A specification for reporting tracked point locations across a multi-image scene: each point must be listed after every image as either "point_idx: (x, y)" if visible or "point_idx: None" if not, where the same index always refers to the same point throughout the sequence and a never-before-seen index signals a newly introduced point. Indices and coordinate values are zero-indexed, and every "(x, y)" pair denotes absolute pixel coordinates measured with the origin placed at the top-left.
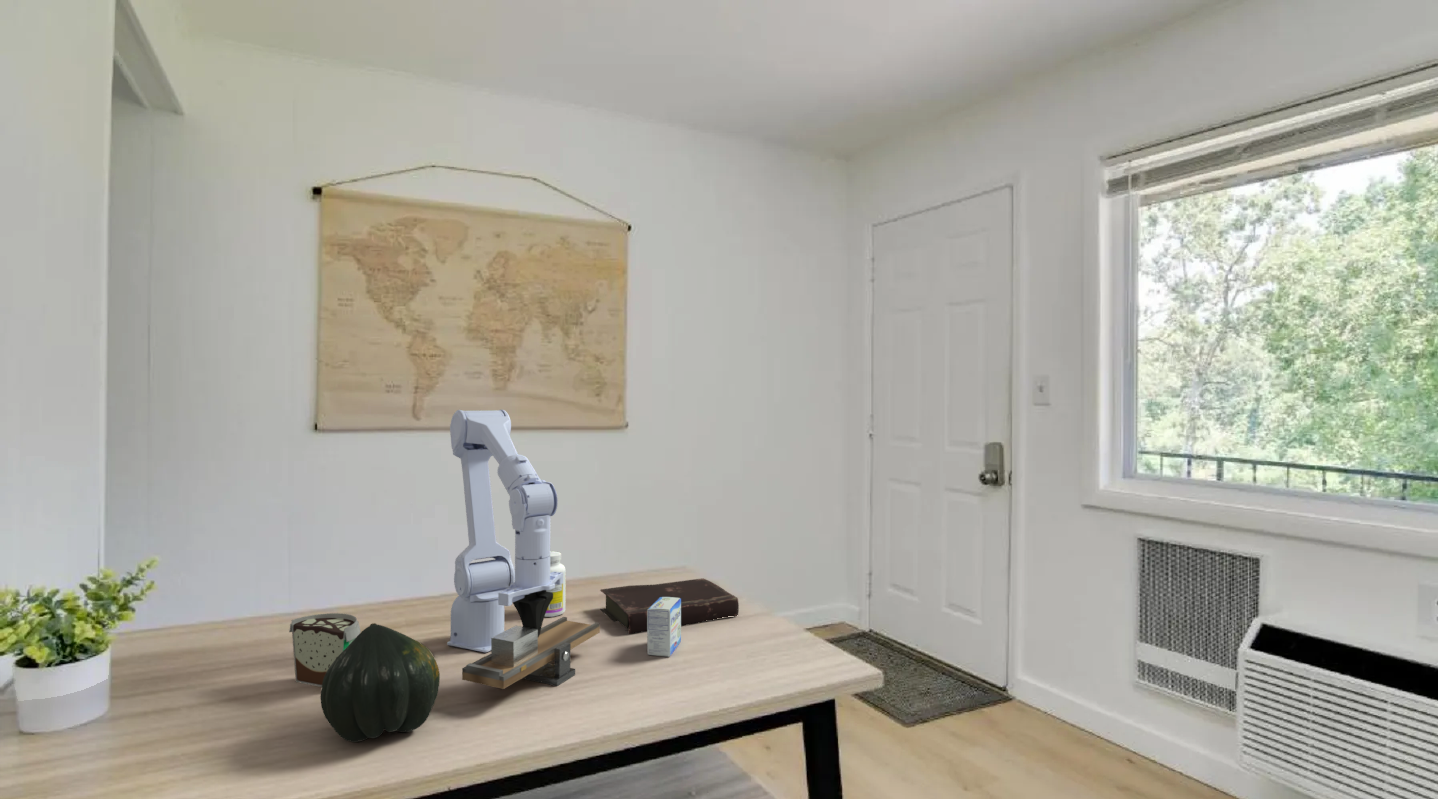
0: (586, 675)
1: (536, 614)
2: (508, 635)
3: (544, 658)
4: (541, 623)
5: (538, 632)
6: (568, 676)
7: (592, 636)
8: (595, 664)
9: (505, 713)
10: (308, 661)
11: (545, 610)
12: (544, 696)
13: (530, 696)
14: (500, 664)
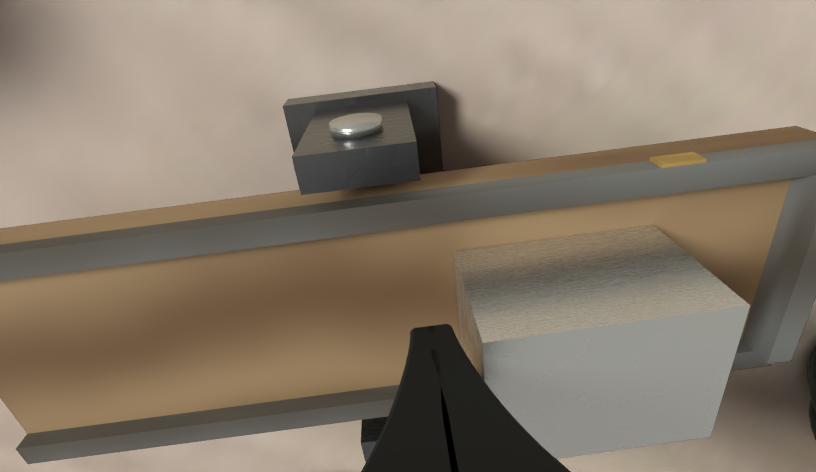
0: (255, 44)
1: (525, 442)
2: (652, 397)
3: (480, 181)
4: (416, 380)
5: (431, 342)
6: (343, 94)
7: (9, 227)
8: (129, 101)
9: (744, 76)
10: None
11: (388, 458)
12: (546, 52)
13: (569, 108)
14: None
